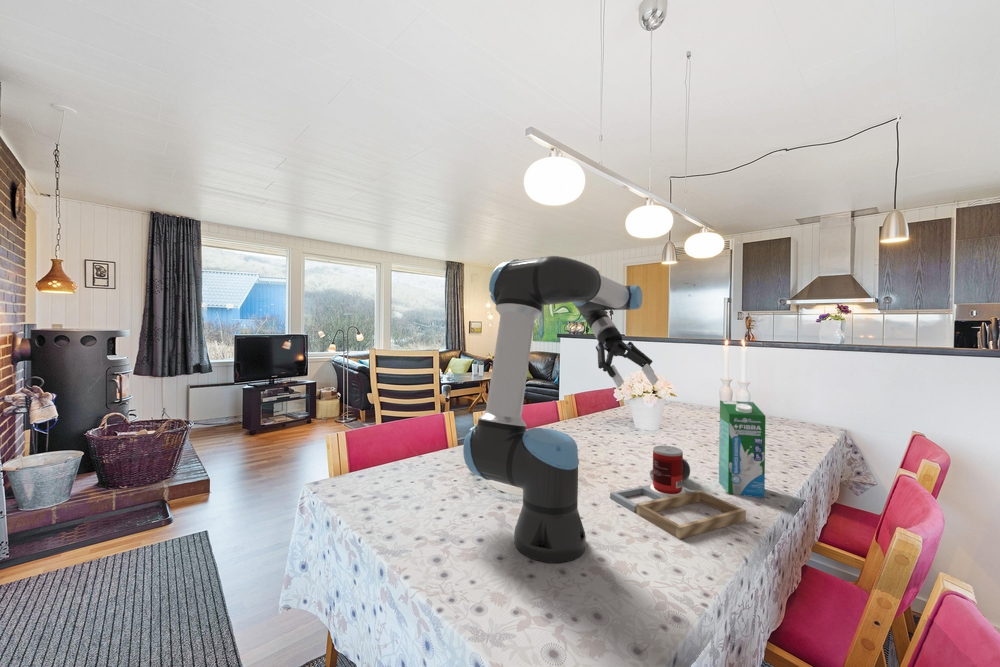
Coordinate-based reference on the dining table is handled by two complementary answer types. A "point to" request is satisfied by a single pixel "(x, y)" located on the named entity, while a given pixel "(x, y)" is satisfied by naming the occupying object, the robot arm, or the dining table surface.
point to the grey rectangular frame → (646, 490)
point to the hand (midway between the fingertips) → (638, 383)
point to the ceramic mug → (685, 471)
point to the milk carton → (742, 448)
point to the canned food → (667, 469)
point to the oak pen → (696, 527)
